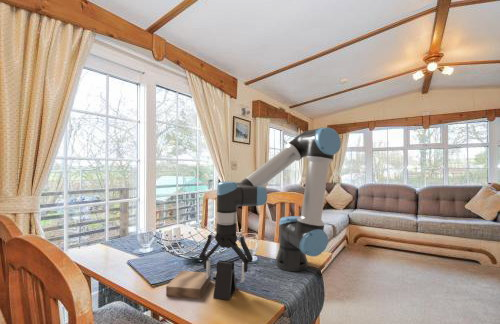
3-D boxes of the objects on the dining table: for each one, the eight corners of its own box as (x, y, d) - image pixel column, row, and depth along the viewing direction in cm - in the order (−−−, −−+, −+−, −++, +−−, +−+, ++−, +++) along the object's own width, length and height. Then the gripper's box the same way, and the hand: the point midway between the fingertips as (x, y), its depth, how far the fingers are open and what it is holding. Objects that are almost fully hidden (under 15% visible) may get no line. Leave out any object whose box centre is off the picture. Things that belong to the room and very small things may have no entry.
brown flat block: (210, 281, 104) (210, 272, 104) (200, 298, 91) (200, 288, 91) (180, 279, 106) (180, 270, 106) (166, 295, 93) (166, 286, 93)
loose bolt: (232, 276, 108) (232, 267, 108) (230, 280, 104) (230, 271, 104) (214, 275, 109) (214, 266, 109) (211, 279, 105) (211, 270, 105)
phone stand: (222, 286, 100) (222, 256, 100) (236, 288, 98) (237, 258, 98) (213, 298, 91) (213, 265, 91) (228, 300, 89) (228, 267, 89)
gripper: (260, 221, 97) (259, 276, 97) (198, 218, 100) (197, 271, 100) (258, 227, 89) (256, 286, 89) (191, 223, 93) (190, 280, 93)
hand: (225, 278), depth 95 cm, fingers open, 13 cm apart
